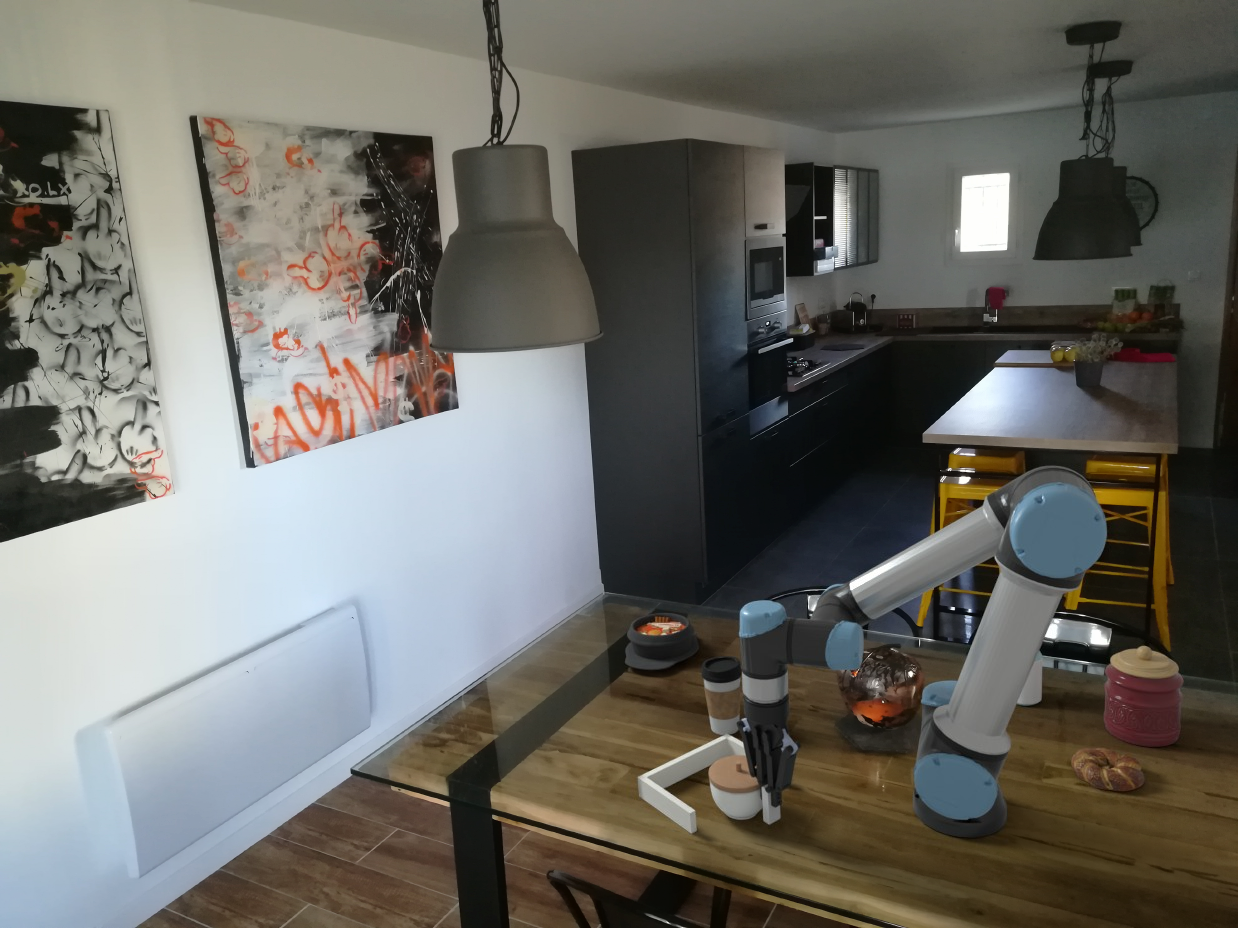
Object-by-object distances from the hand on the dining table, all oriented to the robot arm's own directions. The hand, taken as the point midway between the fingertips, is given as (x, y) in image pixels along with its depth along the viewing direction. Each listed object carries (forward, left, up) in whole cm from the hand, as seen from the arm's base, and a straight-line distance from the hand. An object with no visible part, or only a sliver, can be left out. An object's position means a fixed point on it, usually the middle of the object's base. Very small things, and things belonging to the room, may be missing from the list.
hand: (771, 819), depth 154 cm
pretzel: (-29, -55, -3) cm, 62 cm away
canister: (-26, -74, -2) cm, 79 cm away
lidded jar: (+8, 0, -2) cm, 8 cm away
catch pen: (+16, 0, -2) cm, 16 cm away
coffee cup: (+31, -17, -2) cm, 36 cm away
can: (-4, -70, -2) cm, 70 cm away
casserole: (+69, -30, -2) cm, 76 cm away
